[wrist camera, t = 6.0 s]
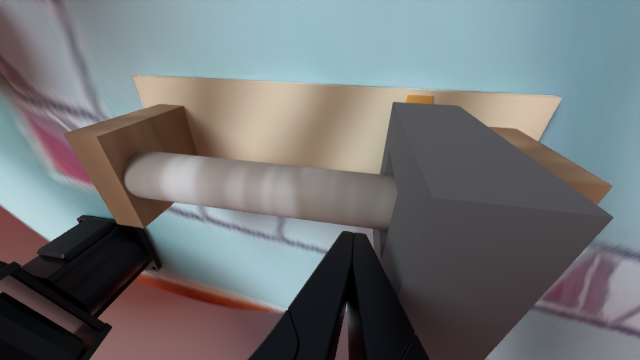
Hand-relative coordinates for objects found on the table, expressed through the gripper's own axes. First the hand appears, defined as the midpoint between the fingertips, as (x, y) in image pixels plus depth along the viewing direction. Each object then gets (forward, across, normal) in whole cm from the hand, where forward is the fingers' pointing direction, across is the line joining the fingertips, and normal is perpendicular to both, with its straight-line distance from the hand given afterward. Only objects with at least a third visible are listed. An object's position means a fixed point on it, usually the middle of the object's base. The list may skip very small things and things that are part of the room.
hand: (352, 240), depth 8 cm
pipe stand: (+7, +2, 0) cm, 7 cm away
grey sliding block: (+6, -3, 0) cm, 7 cm away
